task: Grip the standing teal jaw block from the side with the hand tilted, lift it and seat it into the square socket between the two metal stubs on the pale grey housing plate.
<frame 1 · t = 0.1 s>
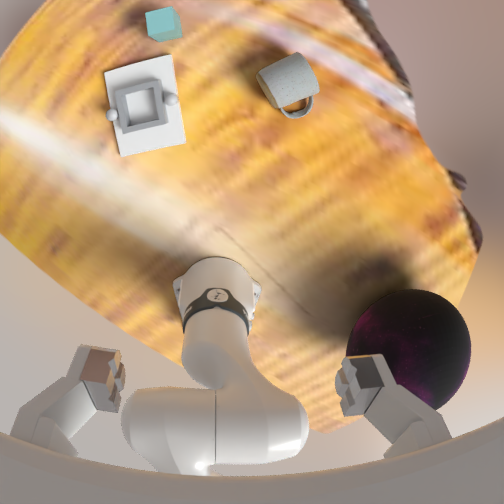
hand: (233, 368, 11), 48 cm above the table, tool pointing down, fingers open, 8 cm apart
ceramic mug: (288, 87, 49), on the table
black purple ball: (385, 313, 76), on the table
housing plate: (145, 105, 48), on the table
jaw block: (169, 29, 41), on the table
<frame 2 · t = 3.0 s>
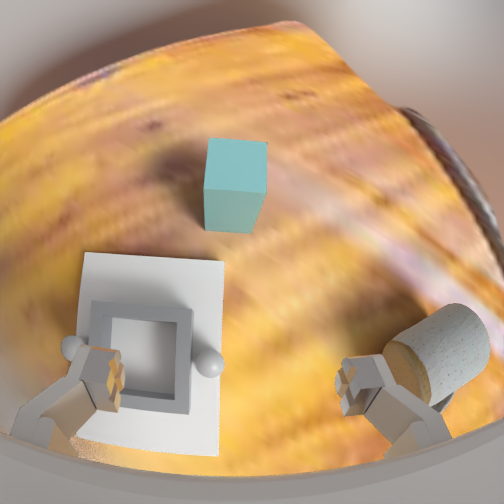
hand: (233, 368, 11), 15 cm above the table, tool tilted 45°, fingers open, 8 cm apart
ceramic mug: (415, 368, 26), on the table
housing plate: (146, 355, 24), on the table
jaw block: (229, 210, 28), on the table
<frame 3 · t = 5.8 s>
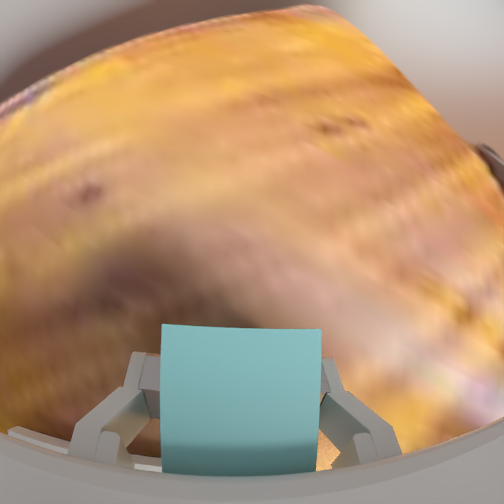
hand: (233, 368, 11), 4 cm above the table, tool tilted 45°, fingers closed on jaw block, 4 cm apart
jaw block: (226, 372, 15), on the table, touching gripper
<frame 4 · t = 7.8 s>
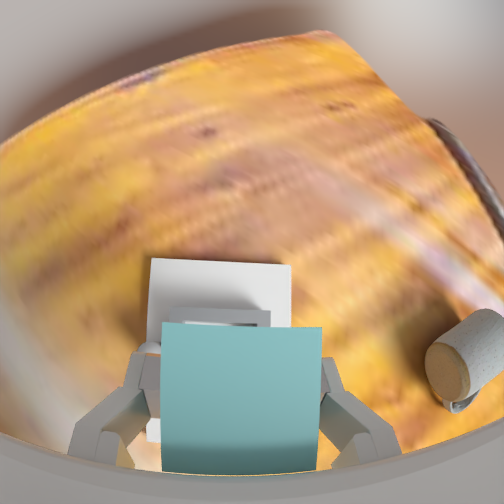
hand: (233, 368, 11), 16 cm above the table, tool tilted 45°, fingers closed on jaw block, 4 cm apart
ceramic mug: (449, 365, 28), on the table
housing plate: (218, 356, 26), on the table
jaw block: (226, 371, 15), point 12 cm above the table, touching gripper
when the fingers open (7 cm above the table, at t = 9.9 s): jaw block drops 1 cm, resting on housing plate.
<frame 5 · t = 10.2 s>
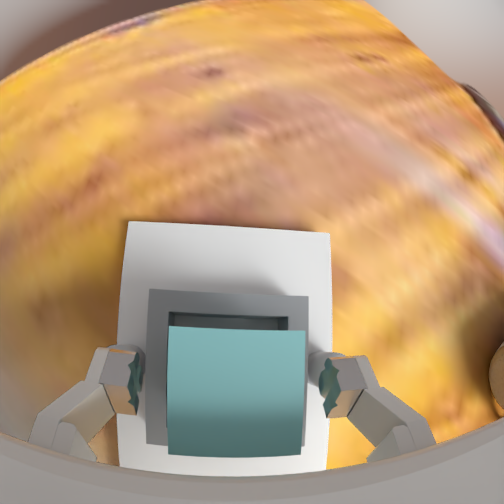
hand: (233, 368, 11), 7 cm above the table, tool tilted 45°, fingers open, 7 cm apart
housing plate: (224, 367, 17), on the table
jaw block: (225, 369, 16), point 1 cm above the table, touching housing plate
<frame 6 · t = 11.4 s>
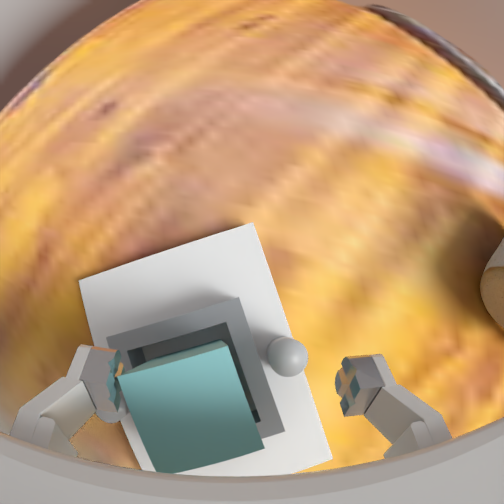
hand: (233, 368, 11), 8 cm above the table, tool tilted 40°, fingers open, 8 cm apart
housing plate: (201, 375, 19), on the table
jaw block: (198, 380, 17), point 1 cm above the table, tilted 7°, touching housing plate
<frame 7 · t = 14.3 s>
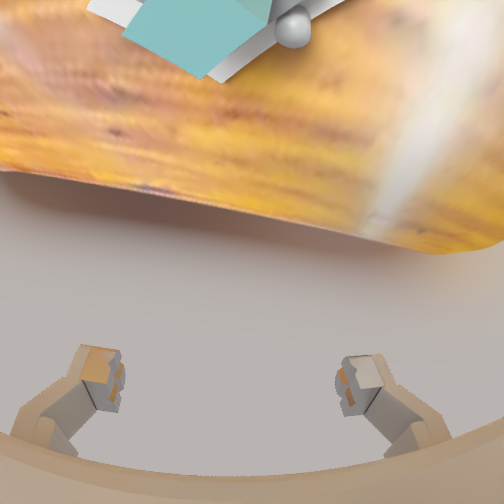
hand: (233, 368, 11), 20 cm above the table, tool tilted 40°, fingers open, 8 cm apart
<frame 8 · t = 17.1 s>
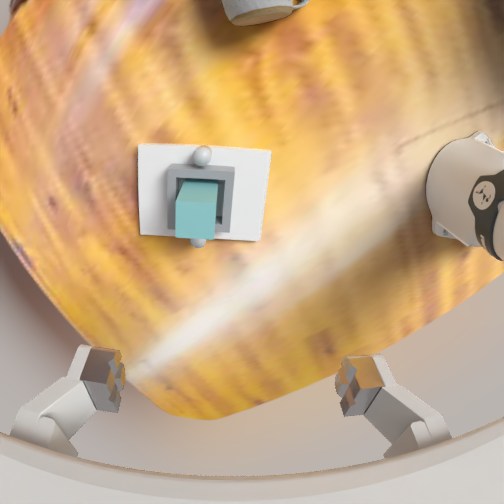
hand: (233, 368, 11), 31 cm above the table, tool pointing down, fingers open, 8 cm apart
housing plate: (201, 191, 39), on the table
jaw block: (201, 194, 38), point 1 cm above the table, touching housing plate
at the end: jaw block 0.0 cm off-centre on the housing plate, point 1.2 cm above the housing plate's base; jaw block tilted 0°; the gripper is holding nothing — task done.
